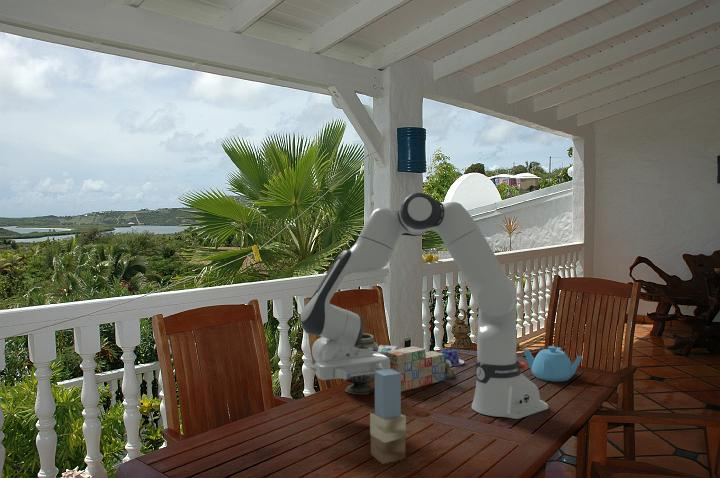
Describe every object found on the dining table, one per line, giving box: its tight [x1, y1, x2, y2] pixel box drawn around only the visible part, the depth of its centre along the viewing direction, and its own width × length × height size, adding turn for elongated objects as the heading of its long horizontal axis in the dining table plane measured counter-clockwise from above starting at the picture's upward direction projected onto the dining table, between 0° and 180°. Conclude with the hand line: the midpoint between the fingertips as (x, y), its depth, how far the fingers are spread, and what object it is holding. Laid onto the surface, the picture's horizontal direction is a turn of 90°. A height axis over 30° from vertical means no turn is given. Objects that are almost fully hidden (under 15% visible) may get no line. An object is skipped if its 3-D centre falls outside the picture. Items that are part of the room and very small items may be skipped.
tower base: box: [370, 435, 406, 465], centre depth 130 cm, size 6×6×5 cm
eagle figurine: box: [445, 359, 456, 380], centre depth 197 cm, size 8×7×9 cm
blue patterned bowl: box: [440, 348, 465, 367], centre depth 216 cm, size 12×12×5 cm
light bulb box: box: [377, 344, 399, 356], centre depth 194 cm, size 11×7×11 cm, turn 168°
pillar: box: [374, 369, 402, 419], centre depth 129 cm, size 4×4×10 cm
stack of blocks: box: [386, 345, 446, 392], centre depth 187 cm, size 21×6×12 cm, turn 126°
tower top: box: [369, 411, 407, 443], centre depth 130 cm, size 6×6×5 cm
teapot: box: [523, 345, 583, 383], centre depth 195 cm, size 15×15×11 cm
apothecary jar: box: [344, 332, 379, 396], centre depth 181 cm, size 12×12×18 cm
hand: (365, 373), depth 140 cm, fingers open, 8 cm apart
